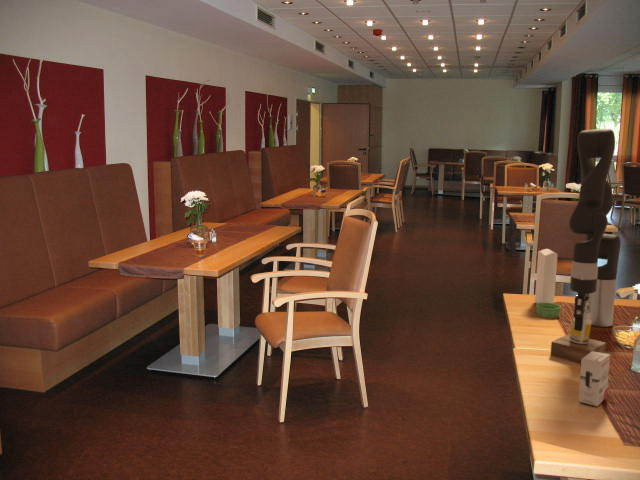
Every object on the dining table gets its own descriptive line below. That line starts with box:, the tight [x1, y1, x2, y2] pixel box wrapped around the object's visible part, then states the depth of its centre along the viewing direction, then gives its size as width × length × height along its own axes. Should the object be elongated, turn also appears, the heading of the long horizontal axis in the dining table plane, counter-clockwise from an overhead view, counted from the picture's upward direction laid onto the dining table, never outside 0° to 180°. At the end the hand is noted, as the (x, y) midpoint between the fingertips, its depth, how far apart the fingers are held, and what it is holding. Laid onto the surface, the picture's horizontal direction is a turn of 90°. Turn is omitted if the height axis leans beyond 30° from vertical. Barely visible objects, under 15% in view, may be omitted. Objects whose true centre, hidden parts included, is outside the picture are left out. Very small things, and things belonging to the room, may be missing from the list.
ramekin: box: [535, 303, 562, 319], centre depth 244 cm, size 9×9×4 cm
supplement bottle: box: [570, 310, 592, 344], centre depth 199 cm, size 5×5×10 cm
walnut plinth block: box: [550, 333, 607, 365], centre depth 200 cm, size 12×12×5 cm
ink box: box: [578, 351, 611, 407], centre depth 166 cm, size 8×5×12 cm, turn 140°
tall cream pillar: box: [534, 248, 558, 304], centre depth 255 cm, size 7×7×24 cm
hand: (579, 326), depth 199 cm, fingers open, 8 cm apart
